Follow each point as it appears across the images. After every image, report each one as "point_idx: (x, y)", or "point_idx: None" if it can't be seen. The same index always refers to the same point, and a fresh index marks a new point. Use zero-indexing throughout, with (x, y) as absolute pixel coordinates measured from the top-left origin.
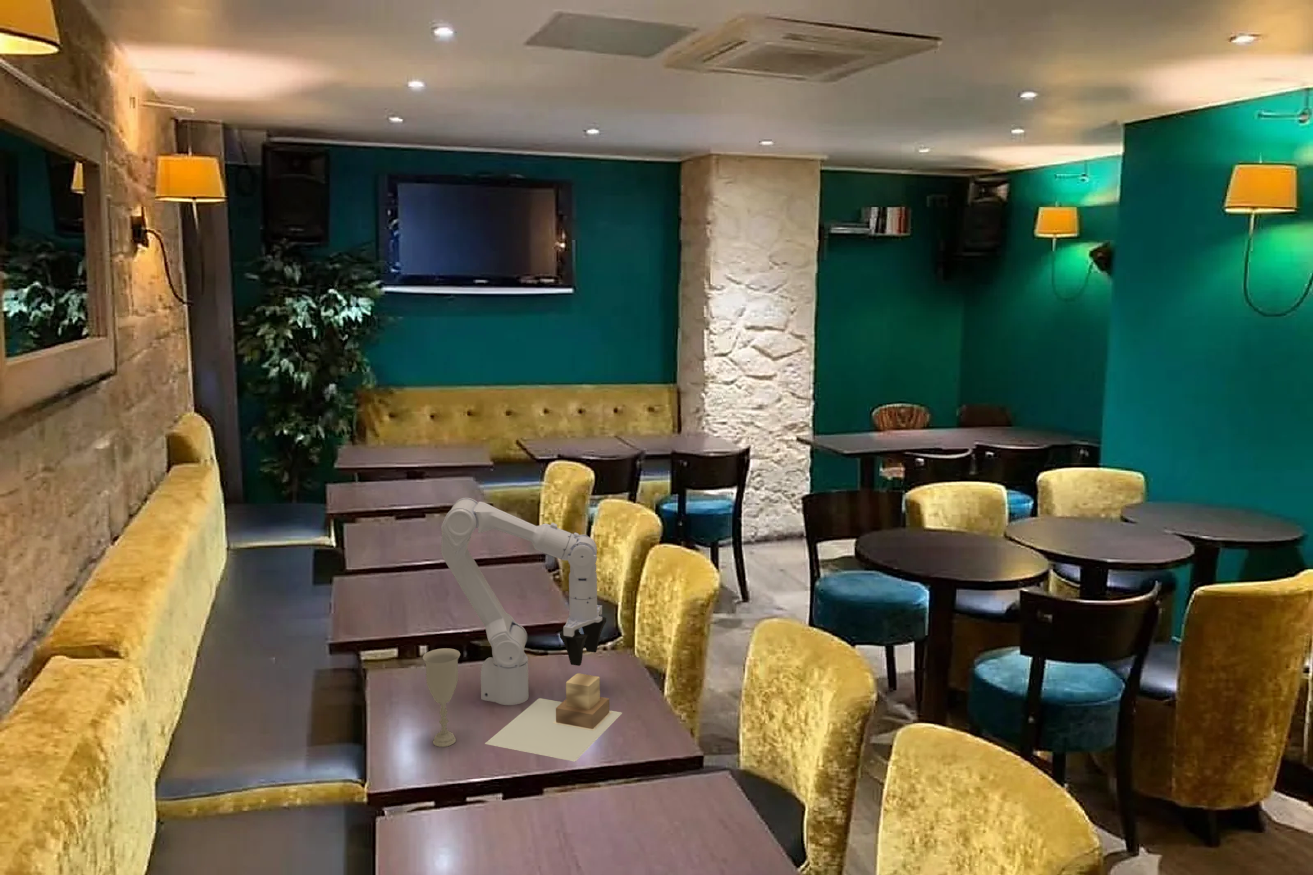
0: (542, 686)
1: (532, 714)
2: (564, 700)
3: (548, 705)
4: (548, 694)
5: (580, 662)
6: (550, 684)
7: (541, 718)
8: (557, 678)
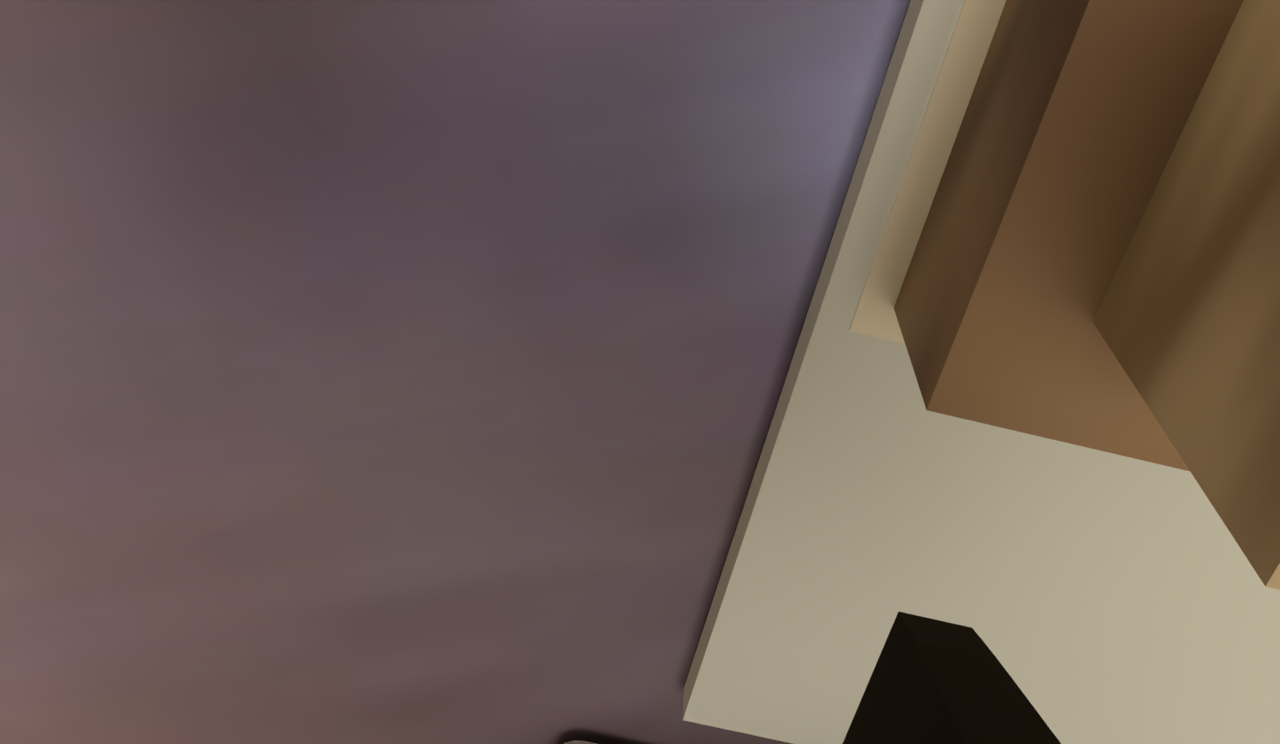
0: (272, 725)
1: (1141, 707)
2: None
3: (880, 597)
4: (466, 636)
5: (1002, 671)
6: (193, 663)
7: (1264, 604)
8: (4, 626)
